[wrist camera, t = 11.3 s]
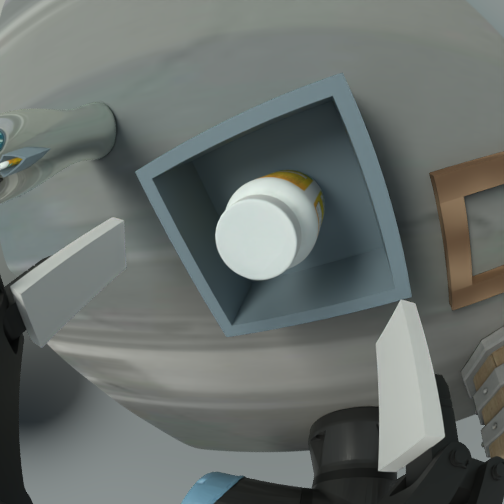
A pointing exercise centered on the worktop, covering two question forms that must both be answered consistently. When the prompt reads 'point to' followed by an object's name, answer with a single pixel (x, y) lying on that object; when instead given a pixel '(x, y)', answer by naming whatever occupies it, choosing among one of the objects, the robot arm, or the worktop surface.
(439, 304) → the worktop surface
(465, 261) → the socket frame
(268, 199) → the supplement bottle
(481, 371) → the tankard
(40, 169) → the beer glass
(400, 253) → the bin
